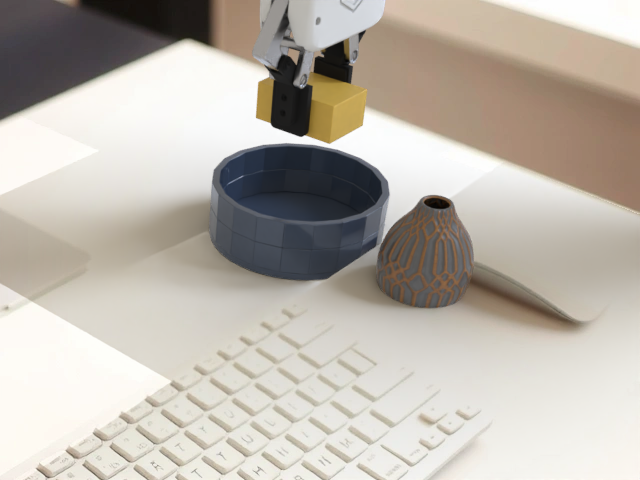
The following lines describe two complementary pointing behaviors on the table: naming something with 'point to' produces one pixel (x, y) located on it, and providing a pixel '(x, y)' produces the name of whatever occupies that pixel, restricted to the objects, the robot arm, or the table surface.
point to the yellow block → (323, 106)
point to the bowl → (296, 209)
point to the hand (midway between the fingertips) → (309, 118)
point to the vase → (426, 256)
